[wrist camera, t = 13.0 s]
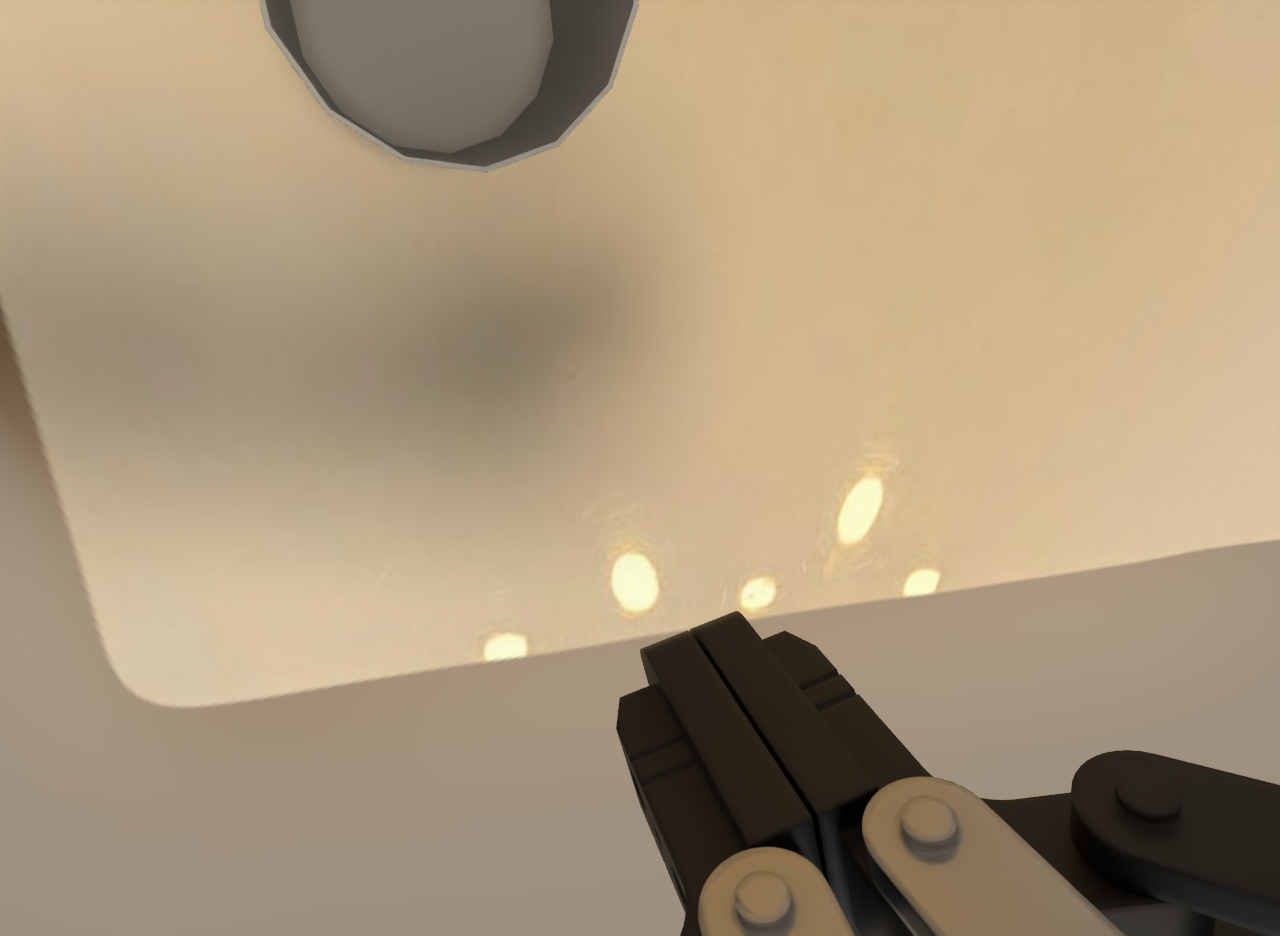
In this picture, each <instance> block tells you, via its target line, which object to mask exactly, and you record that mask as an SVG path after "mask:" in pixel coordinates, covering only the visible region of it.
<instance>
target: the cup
mask: <svg viewBox="0 0 1280 936" xmlns="http://www.w3.org/2000/svg"><path fill="white" fill-rule="evenodd" d="M259 4H260V8H261V12H262V16H263V20H264V24H265V29H266V30H267V32H268V33H269V34H270V36H271V37H272V39H273V40H274V41H275V43H276V44H277V46H278V47H279V48H280V50H281V51H282V53H283V54H284V55H285V57H286V58H287V60H288V61H289V62H290V64H291V65H292V67H293V68H294V69H295V71H296V72H297V74H298V75H299V76H300V78H301V79H302V81H303V82H304V83H305V85H306V86H307V88H308V89H309V90H310V92H311V93H312V95H313V96H314V97H315V99H316V100H317V102H318V103H319V104H320V106H321V107H322V109H323V110H324V111H325V113H327V114H328V115H330V116H331V117H333V118H335V119H336V120H338V121H339V122H341V123H343V124H344V125H346V126H347V127H349V128H350V129H352V130H354V131H355V132H357V133H358V134H360V135H362V136H363V137H365V138H366V139H368V140H370V141H371V142H373V143H374V144H376V145H378V146H379V147H381V148H382V149H384V150H386V151H387V152H389V153H390V154H392V155H394V156H395V157H397V158H398V159H400V160H401V161H403V162H407V163H414V164H422V165H430V166H438V167H445V168H453V169H461V170H469V171H477V172H484V173H487V172H489V171H492V170H495V169H498V168H500V167H503V166H506V165H509V164H511V163H514V162H517V161H520V160H522V159H525V158H528V157H531V156H533V155H536V154H539V153H541V152H544V151H547V150H550V149H552V148H555V147H558V146H559V145H560V144H561V143H562V142H563V141H564V140H565V139H566V138H567V137H568V136H569V134H570V133H571V132H572V131H573V130H574V129H575V128H576V127H577V126H578V125H579V124H580V122H581V121H582V120H583V119H584V118H585V117H586V116H587V115H588V114H589V113H590V112H591V110H592V109H593V108H594V107H595V106H596V105H597V104H598V103H599V102H600V101H601V100H602V99H603V97H604V96H605V95H606V94H607V93H608V92H609V91H610V90H611V89H612V87H613V84H614V81H615V78H616V75H617V72H618V68H619V65H620V62H621V59H622V56H623V53H624V50H625V47H626V43H627V40H628V37H629V34H630V31H631V28H632V25H633V22H634V18H635V15H636V12H637V9H638V6H639V3H638V0H259Z"/></svg>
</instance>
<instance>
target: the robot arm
mask: <svg viewBox="0 0 1280 936" xmlns="http://www.w3.org/2000/svg"><path fill="white" fill-rule="evenodd" d="M640 653H641V658H642V662H643V665H644V669H645V673H646V676H647V680H648V683H649V686H648V687H646V688H643V689H640V690H638V691H635V692H633V693H630V694H628V695H625V696H623V697H621V698H620V701H619V709H618V719H617V727H616V729H617V732H618V735H619V739H620V742H621V745H622V748H623V751H624V754H625V758H626V761H627V764H628V767H629V770H630V773H631V776H632V780H633V783H634V786H635V789H636V793H637V796H638V799H639V802H640V805H641V808H642V810H643V813H644V815H645V817H646V820H647V822H648V824H649V827H650V829H651V832H652V834H653V836H654V838H655V841H656V844H657V846H658V849H659V851H660V853H661V856H662V858H663V861H664V862H665V865H666V868H667V870H668V873H669V875H670V877H671V880H672V882H673V885H674V887H675V889H676V891H677V894H678V897H679V899H680V901H681V904H682V906H683V909H684V911H685V913H686V915H685V921H684V926H683V929H682V932H681V935H680V936H1280V785H1277V784H1273V783H1269V782H1265V781H1261V780H1257V779H1253V778H1249V777H1245V776H1241V775H1237V774H1233V773H1229V772H1225V771H1221V770H1217V769H1213V768H1209V767H1205V766H1201V765H1197V764H1193V763H1188V762H1185V761H1181V760H1177V759H1173V758H1169V757H1164V756H1161V755H1157V754H1152V753H1147V752H1142V751H1130V750H1124V751H1113V752H1107V753H1103V754H1100V755H1097V756H1095V757H1093V758H1091V759H1089V760H1087V761H1086V762H1085V763H1084V764H1083V765H1081V766H1080V768H1079V769H1078V770H1077V772H1076V773H1075V775H1074V778H1073V781H1072V789H1071V793H1064V794H1056V795H1048V796H1039V797H1031V798H1023V799H1014V800H990V799H984V798H979V797H978V796H976V795H975V794H974V793H973V792H971V791H970V790H968V789H966V788H964V787H962V786H961V785H958V784H956V783H954V782H951V781H948V780H944V779H940V778H934V777H933V776H931V775H930V774H929V773H928V772H927V771H926V770H925V769H924V768H923V767H922V766H921V764H920V763H919V762H918V761H917V760H916V759H915V758H914V757H913V755H912V754H911V753H910V752H909V751H908V750H907V749H906V747H905V746H904V745H903V744H902V743H901V742H900V741H899V739H897V737H896V736H895V735H894V734H893V733H892V732H891V730H890V729H889V728H888V727H887V726H886V725H885V724H884V722H883V721H882V720H881V719H880V718H879V717H878V716H877V715H876V713H875V712H874V711H873V710H872V709H871V708H870V707H869V706H868V704H867V703H866V702H865V701H864V700H863V699H862V698H861V697H860V695H857V694H856V693H855V691H854V689H853V687H852V686H851V685H850V684H849V683H848V682H847V681H846V680H845V678H844V677H843V676H842V675H839V674H838V672H837V669H836V668H835V667H834V666H833V665H832V664H831V662H830V661H829V660H828V659H827V658H826V657H825V656H824V655H823V654H822V652H821V651H820V650H819V649H818V648H817V647H816V646H815V645H813V644H811V643H809V642H807V641H805V640H803V639H801V638H799V637H797V636H795V635H793V634H790V633H788V632H786V631H783V632H780V633H778V634H775V635H773V636H771V637H768V638H766V639H763V640H762V639H761V638H760V636H759V635H758V634H757V633H756V632H755V630H754V629H753V627H752V626H751V625H750V624H749V622H748V621H747V620H746V619H745V617H744V616H743V615H742V614H741V613H740V612H738V611H735V612H732V613H730V614H727V615H725V616H722V617H720V618H717V619H715V620H712V621H710V622H707V623H705V624H702V625H700V626H697V627H694V628H692V629H690V632H689V631H685V632H682V633H680V634H678V635H675V636H672V637H670V638H667V639H665V640H662V641H660V642H657V643H655V644H652V645H650V646H647V647H644V648H642V649H640Z"/></svg>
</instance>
